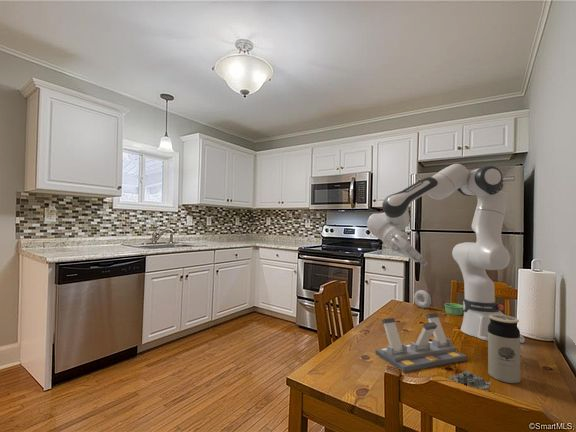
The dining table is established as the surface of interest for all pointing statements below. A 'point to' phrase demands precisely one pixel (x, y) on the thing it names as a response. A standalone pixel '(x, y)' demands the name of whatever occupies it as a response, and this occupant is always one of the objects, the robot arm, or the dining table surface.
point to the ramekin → (453, 308)
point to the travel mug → (504, 348)
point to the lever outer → (392, 334)
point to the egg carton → (471, 380)
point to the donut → (426, 297)
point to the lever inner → (437, 328)
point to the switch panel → (421, 355)
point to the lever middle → (425, 334)
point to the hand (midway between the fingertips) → (423, 261)
